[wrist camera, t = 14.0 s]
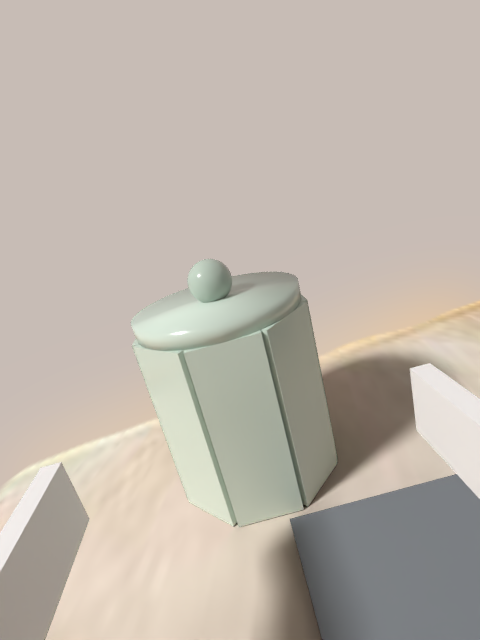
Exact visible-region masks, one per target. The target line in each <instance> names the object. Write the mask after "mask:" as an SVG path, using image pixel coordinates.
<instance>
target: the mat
mask: <svg viewBox="0 0 480 640" xmlns="http://www.w3.org/2000/svg"><path fill="white" fill-rule="evenodd" d="M290 522H291V526H292V529H293V533H294V537H295V541H296V544H297V548H298V552H299V555H300V559H301V563H302V567H303V570H304V574H305V578H306V581H307V585H308V589H309V593H310V596H311V600H312V604H313V607H314V611H315V615H316V619H317V622H318V626H319V630H320V633H321V637H322V640H480V499H479V498H478V497H477V496H476V494H475V493H474V492H473V491H472V490H471V489H470V488H469V487H468V486H467V485H466V484H465V483H464V481H463V480H462V479H461V478H460V477H459V476H458V475H457V474H455V475H452V476H448V477H444V478H440V479H437V480H433V481H429V482H426V483H422V484H418V485H414V486H411V487H407V488H403V489H400V490H396V491H392V492H388V493H385V494H381V495H377V496H374V497H370V498H366V499H362V500H359V501H355V502H351V503H347V504H344V505H340V506H336V507H333V508H329V509H325V510H321V511H318V512H314V513H310V514H307V515H303V516H299V517H295V518H292V519H290Z"/></svg>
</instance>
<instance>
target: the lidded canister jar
mask: <svg viewBox="0 0 480 640" xmlns="http://www.w3.org/2000/svg"><path fill="white" fill-rule="evenodd" d="M187 282H188V288H187V289H185V290H182V291H179V292H177V293H174V294H172V295H169V296H167V297H165V298H162V299H160V300H158V301H156V302H154V303H152V304H150V305H149V306H147V307H146V308H144V309H142V310H141V311H140V312H138V313H137V314H136V315H135V317H134V318H133V319H132V321H131V326H132V329H133V331H134V335H135V337H136V339H135V341H134V343H133V345H132V347H133V350H134V353H135V355H136V358H137V361H138V364H139V367H140V369H141V372H142V375H143V377H144V380H145V383H146V386H147V389H148V391H149V394H150V397H151V400H152V402H153V405H154V408H155V411H156V413H157V416H158V419H159V422H160V424H161V427H162V430H163V433H164V435H165V438H166V441H167V444H168V446H169V449H170V452H171V454H172V457H173V460H174V463H175V465H176V468H177V471H178V474H179V476H180V479H181V482H182V485H183V487H184V490H185V493H186V496H187V498H188V500H189V502H190V503H191V504H193V505H195V506H197V507H199V508H200V509H202V510H204V511H206V512H208V513H210V514H211V515H213V516H215V517H217V518H219V519H221V520H222V521H224V522H226V523H228V524H230V525H231V526H233V527H234V526H235V524H236V523H238V526H239V527H241V526H245V525H248V524H252V523H256V522H260V521H263V520H267V519H271V518H274V517H278V516H282V515H286V514H289V513H293V512H297V511H301V510H304V508H303V505H306V506H309V505H310V503H311V502H312V500H313V499H314V497H315V496H316V494H317V493H318V491H319V490H320V488H321V487H322V485H323V484H324V482H325V481H326V479H327V478H328V476H329V475H330V474H331V472H332V471H333V469H334V468H335V466H336V465H337V463H338V462H337V460H338V458H337V452H336V447H335V442H334V437H333V432H332V426H331V421H330V416H329V411H328V406H327V400H326V395H325V390H324V385H323V379H322V374H321V369H320V364H319V359H318V353H317V348H316V343H315V338H314V333H313V328H312V322H311V317H310V312H309V307H308V301H307V299H306V298H305V297H303V296H302V295H301V293H300V288H299V283H298V278H297V277H296V276H294V275H292V274H289V273H284V272H259V273H250V274H243V275H238V276H231V273H230V271H229V269H228V268H227V267H226V266H225V265H224V264H223V263H222V262H220V261H217V260H214V259H205V260H202V261H199V262H198V263H196V264H195V265H194V266H193V267H192V268H191V270H190V272H189V275H188V281H187Z"/></svg>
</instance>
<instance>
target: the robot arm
mask: <svg viewBox="0 0 480 640" xmlns="http://www.w3.org/2000/svg"><path fill="white" fill-rule="evenodd" d="M410 376H411V385H412V394H413V403H414V412H415V420H416V429H417V432H418V433H419V434H420V435H421V436H422V437H423V438H424V439H425V440H426V441H427V442H428V443H429V445H430V446H431V447H432V448H433V449H434V450H435V451H436V452H437V453H438V454H439V455H440V456H441V458H442V459H443V460H444V461H445V462H446V463H447V464H448V465H449V466H450V467H451V468H452V470H453V471H454V472H455V473H456V474H457V475H458V476H459V477H460V478H461V479H462V480H463V481H464V483H465V484H466V485H467V486H468V487H469V488H470V489H471V490H472V491H473V492H474V493H475V494H476V496H477V497H478V498H479V499H480V399H479V398H478V397H476V396H475V395H474V394H472V393H471V392H469V391H468V390H467V389H465V388H464V387H463V386H461V385H460V384H458V383H457V382H456V381H454V380H453V379H451V378H450V377H449V376H447V375H446V374H444V373H443V372H442V371H440V370H439V369H438V368H436V367H435V366H433V365H432V364H431V363H428V364H424V365H421V366H417V367H413V368H410ZM88 522H89V517H88V515H87V513H86V511H85V509H84V507H83V505H82V503H81V501H80V499H79V497H78V495H77V493H76V491H75V489H74V487H73V485H72V483H71V481H70V479H69V477H68V475H67V473H66V471H65V469H64V466H63V464H62V462H60V463H56V464H52V465H49V466H45V467H41V468H40V470H39V471H38V473H37V475H36V476H35V478H34V479H33V481H32V483H31V484H30V486H29V487H28V489H27V491H26V492H25V494H24V495H23V497H22V499H21V500H20V502H19V504H18V505H17V507H16V508H15V510H14V512H13V513H12V515H11V516H10V518H9V520H8V521H7V523H6V524H5V526H4V528H3V529H2V531H1V532H0V640H45V639H46V636H47V633H48V630H49V628H50V625H51V622H52V620H53V617H54V614H55V611H56V609H57V606H58V603H59V601H60V598H61V595H62V592H63V590H64V587H65V584H66V581H67V579H68V576H69V573H70V571H71V568H72V565H73V562H74V560H75V557H76V554H77V552H78V549H79V546H80V543H81V541H82V538H83V535H84V533H85V530H86V527H87V524H88Z"/></svg>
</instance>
